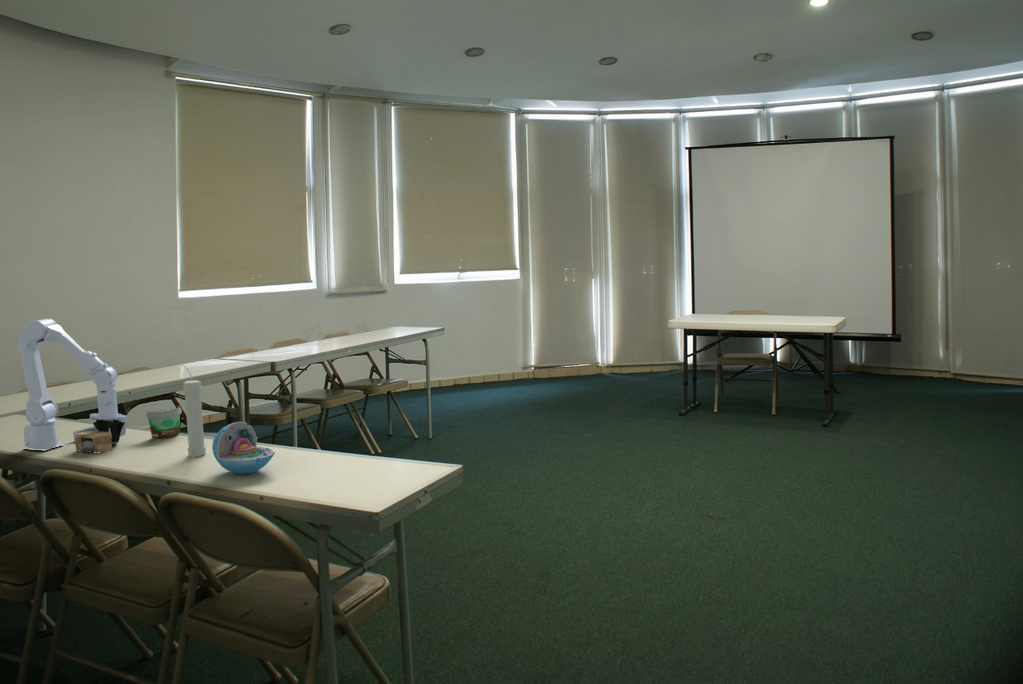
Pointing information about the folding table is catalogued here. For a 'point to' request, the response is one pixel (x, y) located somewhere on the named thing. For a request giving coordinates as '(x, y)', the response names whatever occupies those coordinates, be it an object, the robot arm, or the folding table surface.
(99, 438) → the beam
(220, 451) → the educational model
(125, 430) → the cradle
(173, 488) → the folding table surface
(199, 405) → the pipe
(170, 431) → the food container
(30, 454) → the folding table surface
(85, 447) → the axle
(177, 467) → the folding table surface
